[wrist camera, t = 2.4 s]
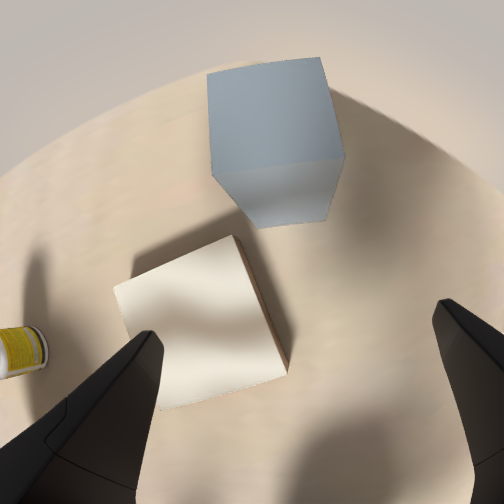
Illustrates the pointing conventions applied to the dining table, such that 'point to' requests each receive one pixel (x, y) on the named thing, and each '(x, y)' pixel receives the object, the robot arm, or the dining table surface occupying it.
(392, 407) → the dining table surface
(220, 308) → the plinth
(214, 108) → the slate block
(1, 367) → the supplement bottle
